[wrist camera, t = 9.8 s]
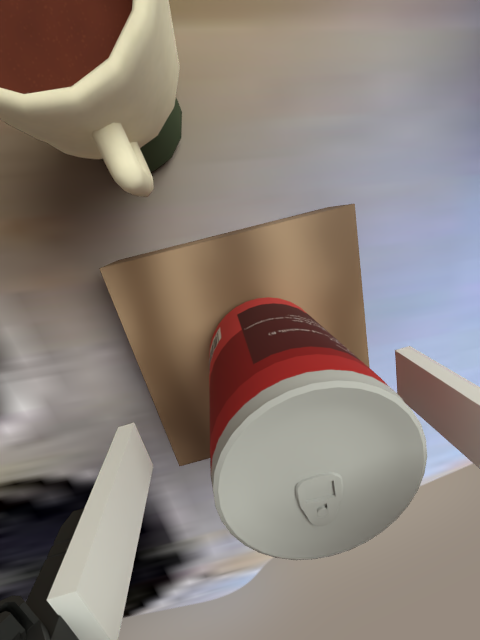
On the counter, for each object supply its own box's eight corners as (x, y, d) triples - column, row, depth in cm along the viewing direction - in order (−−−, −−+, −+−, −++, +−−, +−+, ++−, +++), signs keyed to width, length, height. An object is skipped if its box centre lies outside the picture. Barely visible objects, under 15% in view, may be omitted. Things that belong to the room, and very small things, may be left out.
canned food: (239, 414, 22) (269, 590, 11) (187, 326, 19) (163, 449, 9) (331, 370, 21) (450, 509, 11) (291, 273, 19) (398, 337, 8)
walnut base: (183, 431, 26) (179, 466, 23) (118, 260, 21) (99, 268, 17) (349, 386, 27) (373, 412, 23) (328, 207, 21) (354, 203, 18)
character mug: (31, 42, 17) (-462, -467, 4) (144, -7, 16) (-35, -670, 4) (124, 226, 20) (-1, 232, 8) (217, 187, 20) (234, 133, 8)
